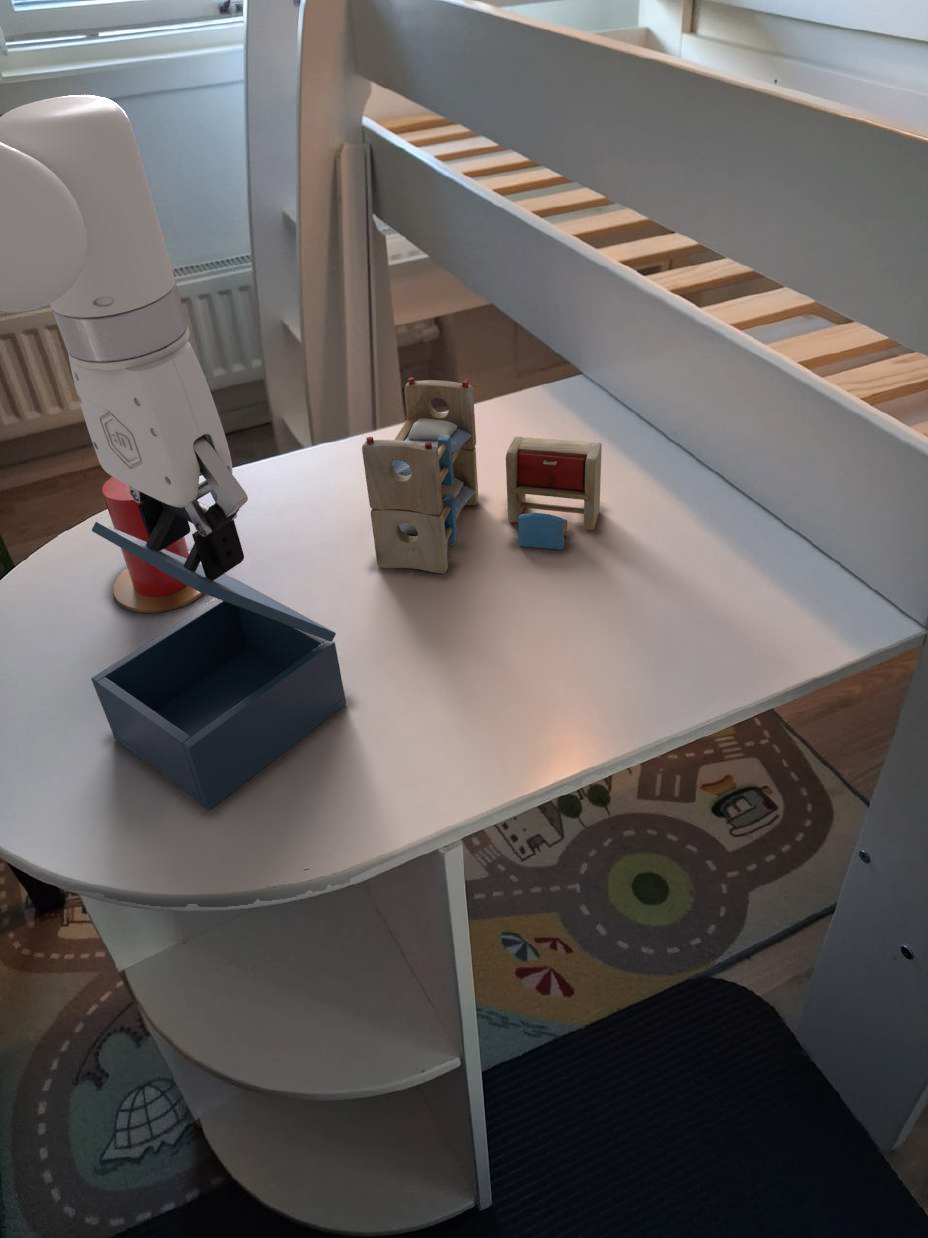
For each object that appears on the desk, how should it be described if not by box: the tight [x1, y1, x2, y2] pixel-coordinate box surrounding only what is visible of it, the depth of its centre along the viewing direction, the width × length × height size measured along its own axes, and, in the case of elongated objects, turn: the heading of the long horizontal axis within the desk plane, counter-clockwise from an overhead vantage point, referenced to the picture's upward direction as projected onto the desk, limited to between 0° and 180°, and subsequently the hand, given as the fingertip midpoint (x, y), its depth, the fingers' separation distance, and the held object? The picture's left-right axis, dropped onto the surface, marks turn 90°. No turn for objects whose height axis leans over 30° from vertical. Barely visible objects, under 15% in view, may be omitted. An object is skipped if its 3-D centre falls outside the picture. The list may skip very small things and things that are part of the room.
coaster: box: [112, 550, 205, 614], centre depth 99 cm, size 10×10×1 cm
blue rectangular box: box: [90, 598, 347, 811], centre depth 81 cm, size 15×13×7 cm
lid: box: [91, 501, 337, 642], centre depth 76 cm, size 15×13×5 cm
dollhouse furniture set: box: [361, 376, 603, 575], centre depth 97 cm, size 14×20×14 cm
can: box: [101, 476, 190, 597], centre depth 95 cm, size 6×6×11 cm
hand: (198, 552), depth 73 cm, fingers closed on lid, 5 cm apart
